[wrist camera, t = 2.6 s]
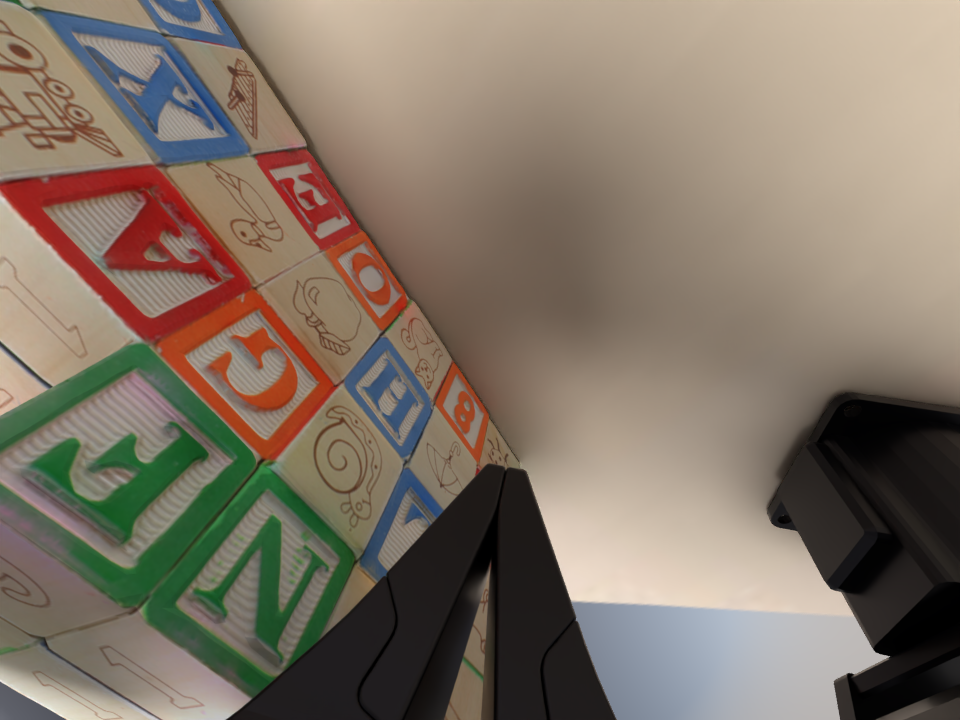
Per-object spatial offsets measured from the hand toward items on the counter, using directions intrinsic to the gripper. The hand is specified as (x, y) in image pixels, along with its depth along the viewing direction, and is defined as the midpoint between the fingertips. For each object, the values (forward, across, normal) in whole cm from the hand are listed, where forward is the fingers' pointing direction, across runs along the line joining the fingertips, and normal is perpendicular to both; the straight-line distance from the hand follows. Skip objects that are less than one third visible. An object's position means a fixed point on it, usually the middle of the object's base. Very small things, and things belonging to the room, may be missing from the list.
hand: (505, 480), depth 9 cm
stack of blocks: (+8, +8, 0) cm, 12 cm away
